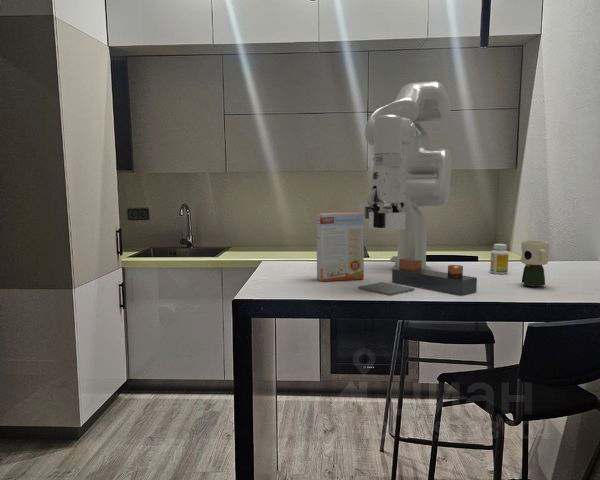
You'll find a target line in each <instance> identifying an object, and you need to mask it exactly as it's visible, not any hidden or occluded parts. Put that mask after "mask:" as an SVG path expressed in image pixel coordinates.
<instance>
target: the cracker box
mask: <svg viewBox="0 0 600 480" xmlns="http://www.w3.org/2000/svg"><path fill="white" fill-rule="evenodd" d="M315 215H316V216H315V217H316V218H315V220H316V221H315V222H316V225H315V226H316V230H315V231H316V235H315V236H316V279H317V280H319V282H336V281H356V280H358V281H359V280H364V277H365V274H364V273H365V264H364V263H365V255H364V252H365V248H364V247H365V246H364V245H365V244H364V243H365V239H364V238H365V233H364V231H365V230H364V229H365V227H364V226H365V225H364V224H365V223H364V221H365V220H364V219H365V218H364V212H359V211H356V212H355V211H353V212H351V211H350V212H321V213H320V212H319V213H318V212H317V213H316V214H315Z"/></svg>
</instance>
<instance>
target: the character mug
mask: <svg viewBox="0 0 600 480" xmlns="http://www.w3.org/2000/svg"><path fill="white" fill-rule="evenodd" d="M549 246H550V242H549V241H545V240H536V239H535V240H531V239H530V240H522V241H521V247H520V249H521V257H520V261H521V263H522V264H523V265H524V264H525V265H524V267H523V273H522V278H521V285H523V286H528V287H535V288H537V287H538V286H545V285H546V277H545V276H546V275H545V268H544V266H543V265H548V263H549V249H550V247H549Z"/></svg>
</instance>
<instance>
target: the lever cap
mask: <svg viewBox="0 0 600 480" xmlns="http://www.w3.org/2000/svg"><path fill="white" fill-rule="evenodd" d="M382 213H384V224H383V228H374V226H373V223H374V213H372V211H370V212H368V229H372V230H385V231H396V230H397V231H398V229H405V218H406V213H405V212H392V209H391V208H390V209H389V208H388V209H387V208H383V211H382Z"/></svg>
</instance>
